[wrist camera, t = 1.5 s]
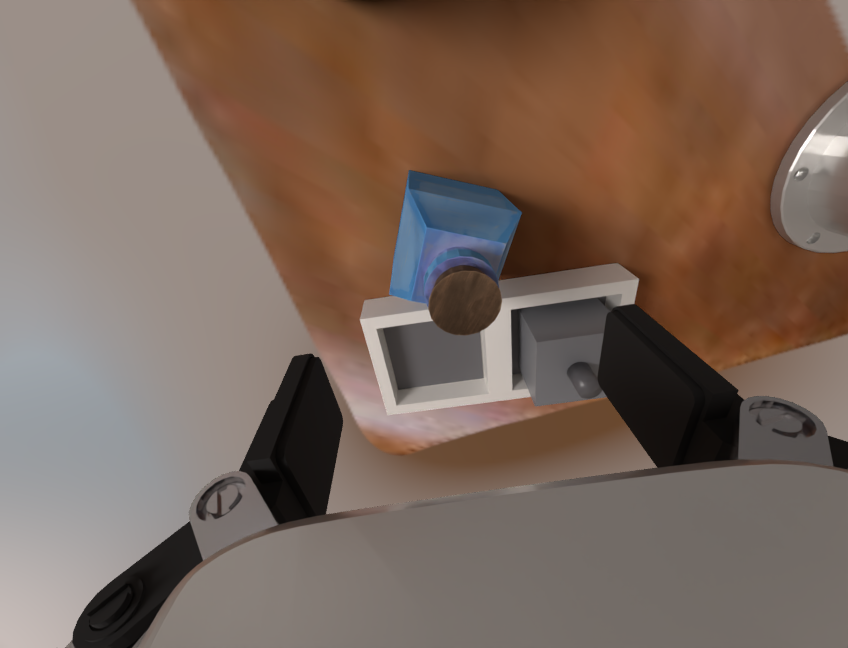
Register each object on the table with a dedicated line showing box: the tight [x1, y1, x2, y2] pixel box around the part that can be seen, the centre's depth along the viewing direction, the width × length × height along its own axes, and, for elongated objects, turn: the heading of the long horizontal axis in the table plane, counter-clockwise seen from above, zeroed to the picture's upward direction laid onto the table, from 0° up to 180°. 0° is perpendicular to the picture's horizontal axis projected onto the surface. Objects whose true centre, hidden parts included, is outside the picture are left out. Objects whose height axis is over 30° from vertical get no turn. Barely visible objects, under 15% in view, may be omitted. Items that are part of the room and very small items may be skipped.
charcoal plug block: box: [518, 297, 610, 406], centre depth 26 cm, size 6×6×7 cm
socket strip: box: [360, 263, 639, 415], centre depth 29 cm, size 20×10×3 cm, turn 99°
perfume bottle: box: [389, 170, 522, 335], centre depth 20 cm, size 6×6×12 cm
